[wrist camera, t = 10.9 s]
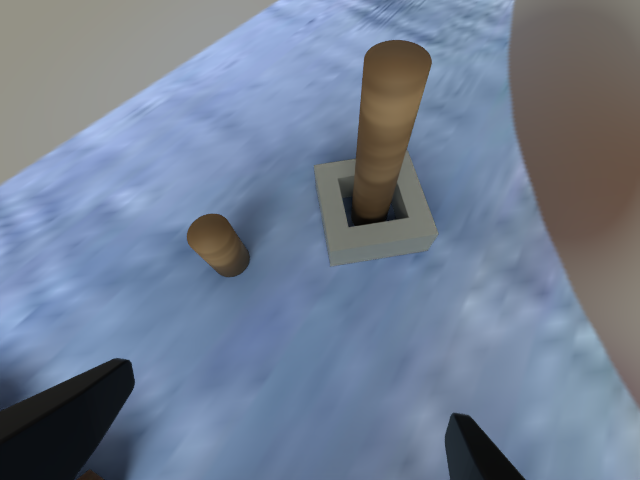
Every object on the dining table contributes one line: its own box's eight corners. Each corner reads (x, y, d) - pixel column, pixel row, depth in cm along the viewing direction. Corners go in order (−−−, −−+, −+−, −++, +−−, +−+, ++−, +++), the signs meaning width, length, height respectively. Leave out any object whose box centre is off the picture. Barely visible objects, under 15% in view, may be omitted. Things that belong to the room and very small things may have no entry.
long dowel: (392, 221, 26) (446, 64, 13) (364, 238, 25) (391, 92, 13) (372, 196, 27) (402, 32, 14) (344, 212, 26) (350, 55, 14)
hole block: (427, 250, 24) (438, 234, 22) (330, 266, 24) (329, 251, 22) (400, 173, 28) (407, 150, 25) (315, 186, 28) (313, 165, 25)
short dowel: (250, 273, 24) (231, 248, 20) (213, 279, 24) (186, 256, 20) (248, 241, 26) (230, 210, 21) (213, 246, 26) (187, 217, 21)
